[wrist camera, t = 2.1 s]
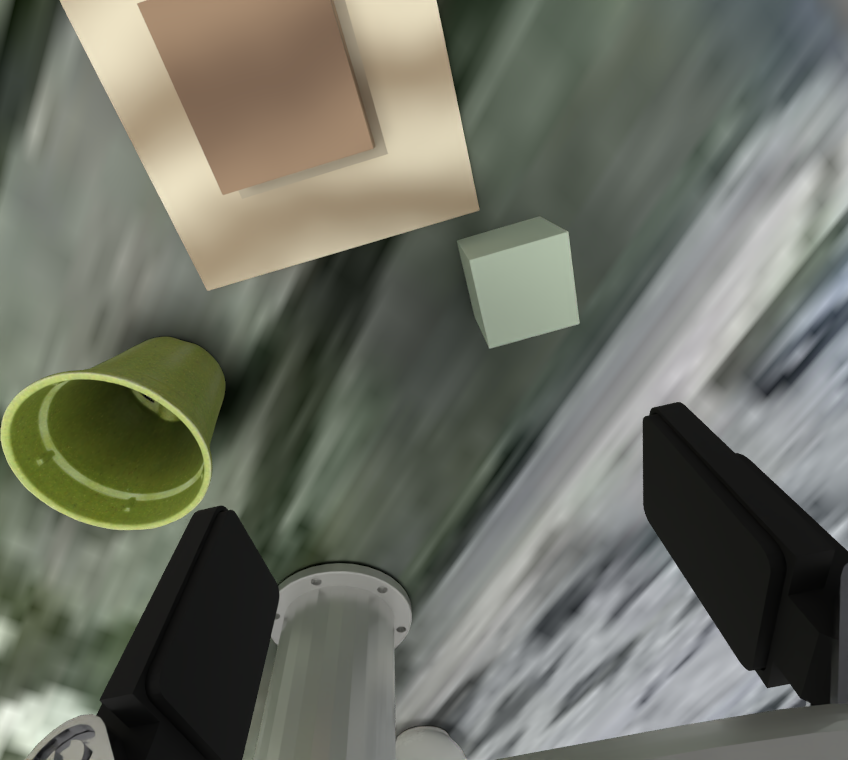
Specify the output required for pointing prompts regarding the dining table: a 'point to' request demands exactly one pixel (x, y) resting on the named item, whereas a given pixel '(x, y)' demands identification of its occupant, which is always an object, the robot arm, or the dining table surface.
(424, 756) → the lidded jar
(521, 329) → the sage cube
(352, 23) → the plate
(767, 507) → the robot arm
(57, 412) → the plant pot
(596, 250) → the dining table surface
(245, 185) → the walnut base block
